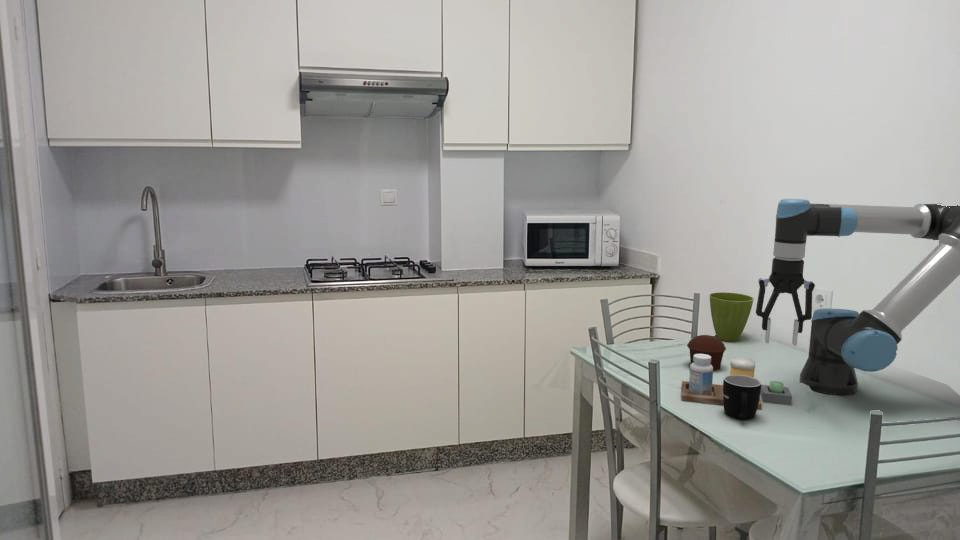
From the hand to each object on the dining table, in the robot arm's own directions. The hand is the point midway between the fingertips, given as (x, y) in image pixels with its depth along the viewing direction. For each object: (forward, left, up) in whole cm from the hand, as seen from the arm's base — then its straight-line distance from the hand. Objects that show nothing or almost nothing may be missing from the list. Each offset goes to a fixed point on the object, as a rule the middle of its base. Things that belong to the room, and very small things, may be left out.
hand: (780, 342), depth 176 cm
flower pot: (+9, -62, -17) cm, 65 cm away
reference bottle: (+9, +4, -16) cm, 19 cm away
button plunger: (0, 0, -15) cm, 15 cm away
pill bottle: (+20, +4, -16) cm, 26 cm away
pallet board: (+15, +4, -17) cm, 23 cm away
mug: (+10, +16, -17) cm, 26 cm away
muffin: (+18, -26, -17) cm, 36 cm away
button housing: (0, 0, -17) cm, 17 cm away
